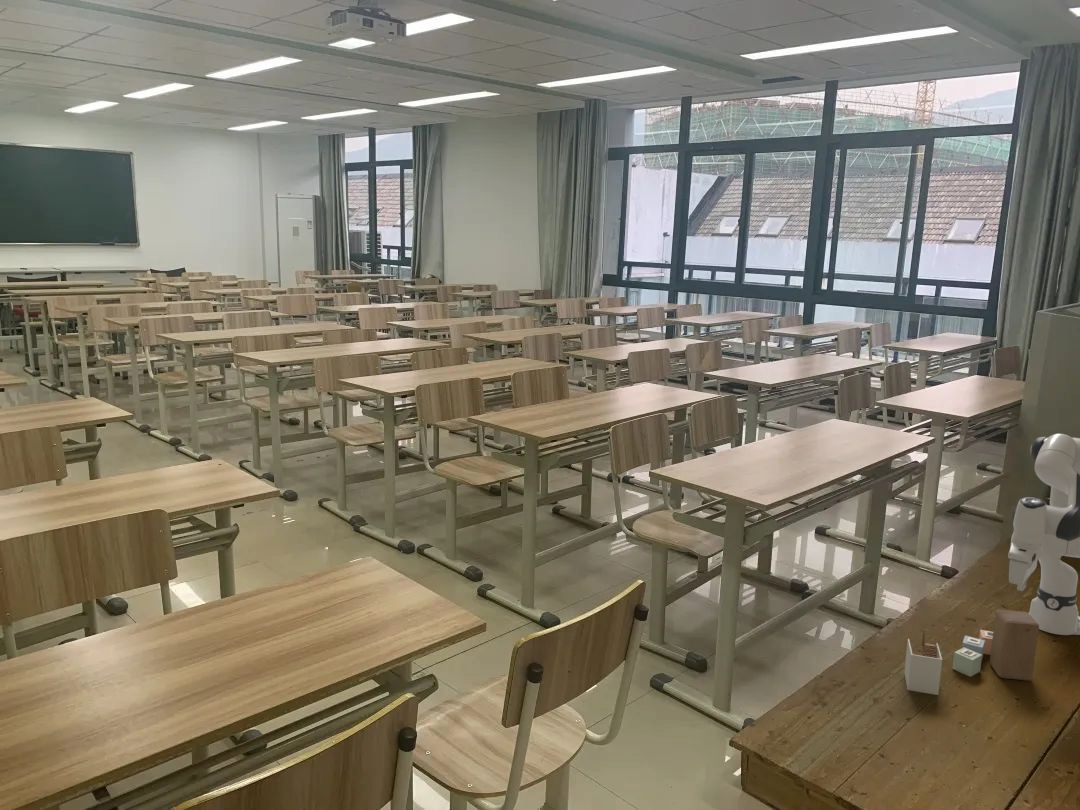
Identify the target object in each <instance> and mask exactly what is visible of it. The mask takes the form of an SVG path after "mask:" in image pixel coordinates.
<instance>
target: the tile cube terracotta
mask: <svg viewBox="0 0 1080 810" xmlns="http://www.w3.org/2000/svg"><path fill="white" fill-rule="evenodd" d="M978 637H979V638H978V639H981V640H985V644H984V652H983V655H989V656H990V654H991V647H992V639H993V631H989V630H984V629H980V630H979V636H978Z"/></svg>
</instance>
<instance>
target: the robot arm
mask: <svg viewBox="0 0 1080 810" xmlns="http://www.w3.org/2000/svg"><path fill="white" fill-rule="evenodd" d="M1029 451H1030V456H1031V460H1032V461H1033V462H1034V472H1035V475H1036V476H1037V477H1038V479H1039V480H1040V481H1041V482H1042V483H1043V484H1045V485H1047V486H1049V487H1050V495H1049V496H1050V497H1049V505H1048V504H1047V502H1045V501H1044V500H1043V499H1041V498H1037V497H1032V496H1031V497H1029V496H1028V497H1026V496H1025V497H1022V498H1020V499H1019V501H1018V502H1017V505H1016V507H1015V508H1014V511H1013V514H1012V515H1013V516H1012V524H1013V525H1012V526H1013V533H1011V534H1012V535H1011V540H1010V546H1009V547H1010V548H1009V551H1008V555H1007V557H1008V559H1010V560H1009V565H1008V581H1009V583H1010V584H1013V585H1017V587H1016V589H1017V591H1020V592H1024V590H1025V589H1026V588H1027V587H1026V586H1027V582H1028V581H1029V580H1028V579H1029V577H1030V576H1031V575H1032V574H1033V572H1034V571H1035V570H1036V569H1037V566H1038V562H1039V564H1040V583H1039V586H1038V587H1037V591H1036V592H1037V594H1036V597H1034V598H1033V599H1031V602H1030V606H1029V607H1030V608H1029V611H1028V613H1029V614H1030V615H1031V616H1032V618H1033V619H1034V620H1035V621H1036V622H1037V623H1038V624H1039V631H1043V632H1045V633H1050V634H1054V635H1061V636H1073V635H1074V636H1080V615H1079V613H1080V611H1078V609H1079V608H1078V605H1077V600H1078V597H1077V588H1078V580H1079V575H1078V572H1077V571H1076V569H1075V568H1074V567H1072V566H1070V565H1069V564H1068V563H1066V562H1064V561H1062V560H1061V558H1062V557H1063V556H1064V557H1071V558H1078V559H1080V437H1071V436H1070V435H1069V434H1064V433H1054V434H1051V435H1050V436H1040V437H1037V438H1035V439H1034V440H1033V442H1032V444H1031V446H1030V450H1029Z"/></svg>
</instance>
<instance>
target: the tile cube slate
mask: <svg viewBox="0 0 1080 810" xmlns="http://www.w3.org/2000/svg"><path fill="white" fill-rule="evenodd" d="M984 644H985V640H981V639H979V638H977V637H972V636H969V635H964V638H963V640H962V644H961V649H962V648H963V647H965V648H967V649H969V650H972V651H974V652H977V653H979V654H981V655H982V660H981V662H982V661H983V659H984V658H983V657H984V654H983V652H984Z"/></svg>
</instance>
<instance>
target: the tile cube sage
mask: <svg viewBox="0 0 1080 810" xmlns="http://www.w3.org/2000/svg"><path fill="white" fill-rule="evenodd" d="M981 660H982V661H983V658H982V655H981V654H979V653H977V652H974V651H972V650H969V649H967V648H965V647H963V648H962V647H961V648H960V649H958V650H956V651H954V653H953V660H952V670H955V671H956V672H958V673H960V674H962V675H966V676H968V677H973V676H974V675H977V674H979V673H980V672H981V668H982V661H981Z"/></svg>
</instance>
